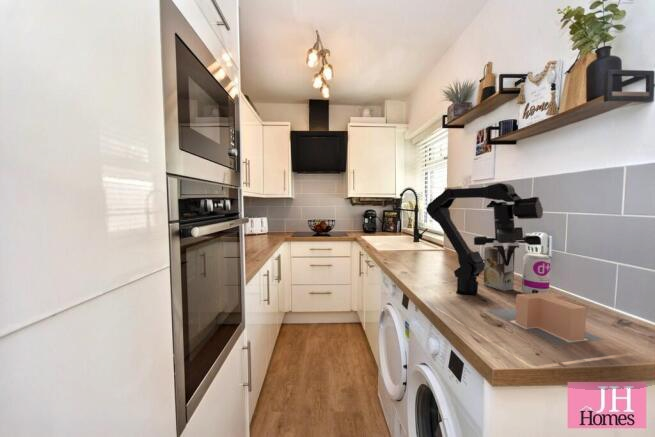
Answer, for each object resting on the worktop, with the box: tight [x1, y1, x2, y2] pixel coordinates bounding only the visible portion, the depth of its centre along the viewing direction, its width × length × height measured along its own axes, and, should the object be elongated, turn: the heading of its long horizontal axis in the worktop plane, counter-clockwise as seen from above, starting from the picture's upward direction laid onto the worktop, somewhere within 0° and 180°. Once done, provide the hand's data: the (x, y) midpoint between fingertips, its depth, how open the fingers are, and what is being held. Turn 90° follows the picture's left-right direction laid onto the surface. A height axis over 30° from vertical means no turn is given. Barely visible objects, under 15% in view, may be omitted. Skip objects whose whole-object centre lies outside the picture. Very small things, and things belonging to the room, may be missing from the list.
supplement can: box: [521, 252, 552, 294], centre depth 103 cm, size 8×8×15 cm
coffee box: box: [483, 246, 516, 292], centre depth 111 cm, size 9×6×16 cm
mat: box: [485, 307, 605, 346], centre depth 76 cm, size 22×15×1 cm
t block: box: [515, 291, 587, 341], centre depth 72 cm, size 12×12×8 cm
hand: (506, 265), depth 92 cm, fingers closed
